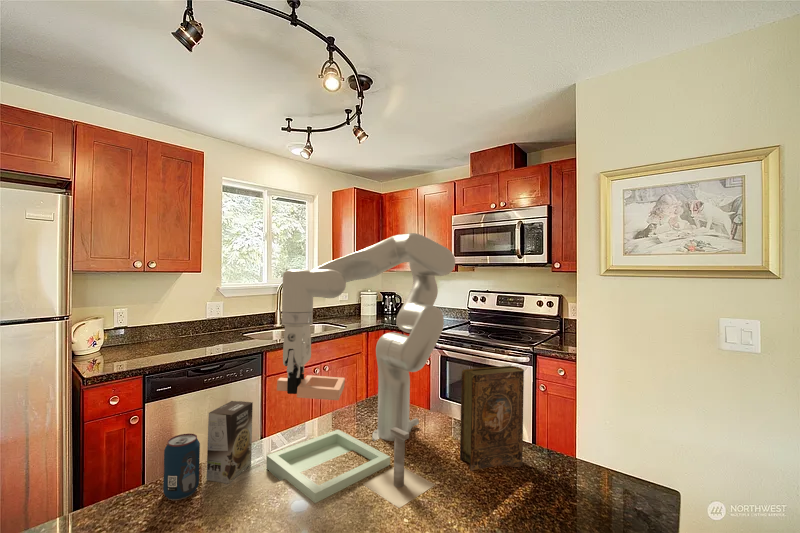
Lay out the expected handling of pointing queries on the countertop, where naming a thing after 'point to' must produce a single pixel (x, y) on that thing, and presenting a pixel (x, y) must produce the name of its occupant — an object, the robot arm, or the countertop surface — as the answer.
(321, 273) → the robot arm
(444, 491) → the countertop surface
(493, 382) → the book
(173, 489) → the soda can
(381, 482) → the stake stand
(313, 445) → the tray
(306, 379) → the pink flat frame
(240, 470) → the coffee box
